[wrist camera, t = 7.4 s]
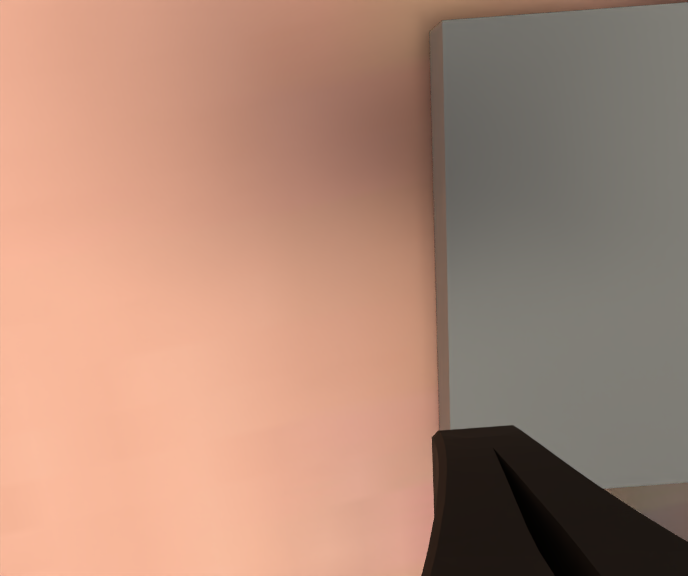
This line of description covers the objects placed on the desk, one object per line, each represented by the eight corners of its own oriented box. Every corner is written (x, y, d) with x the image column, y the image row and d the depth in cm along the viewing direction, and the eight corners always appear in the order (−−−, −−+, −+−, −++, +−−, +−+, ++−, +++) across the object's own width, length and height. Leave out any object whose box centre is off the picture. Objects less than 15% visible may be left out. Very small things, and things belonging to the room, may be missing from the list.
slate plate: (809, 436, 20) (859, 469, 18) (440, 463, 20) (451, 499, 18) (889, -2, 16) (964, -19, 14) (429, 31, 16) (442, 20, 14)
